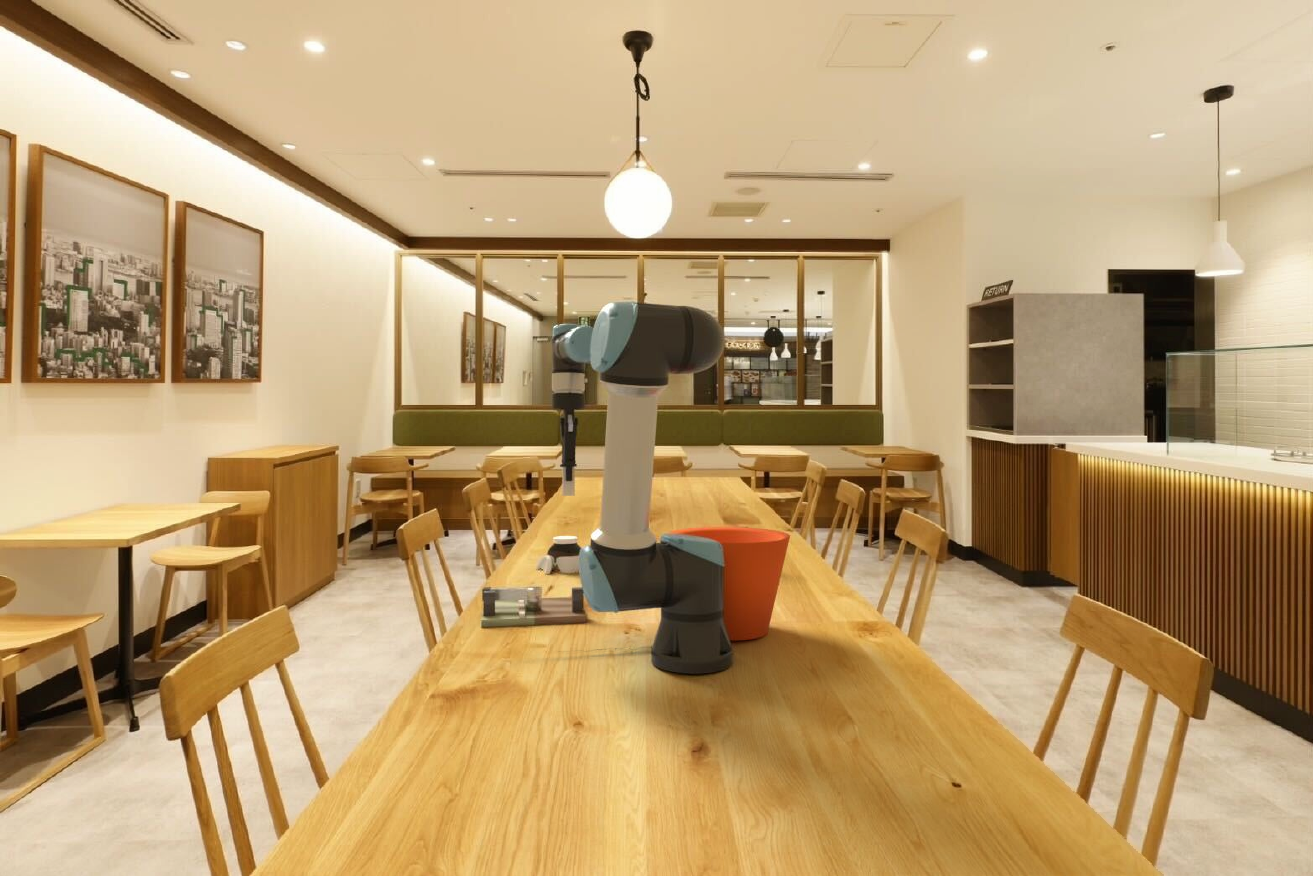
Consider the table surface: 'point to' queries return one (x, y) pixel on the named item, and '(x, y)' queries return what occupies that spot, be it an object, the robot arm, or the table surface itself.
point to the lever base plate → (517, 615)
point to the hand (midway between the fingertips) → (568, 495)
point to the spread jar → (561, 556)
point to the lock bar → (519, 595)
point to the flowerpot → (748, 575)
